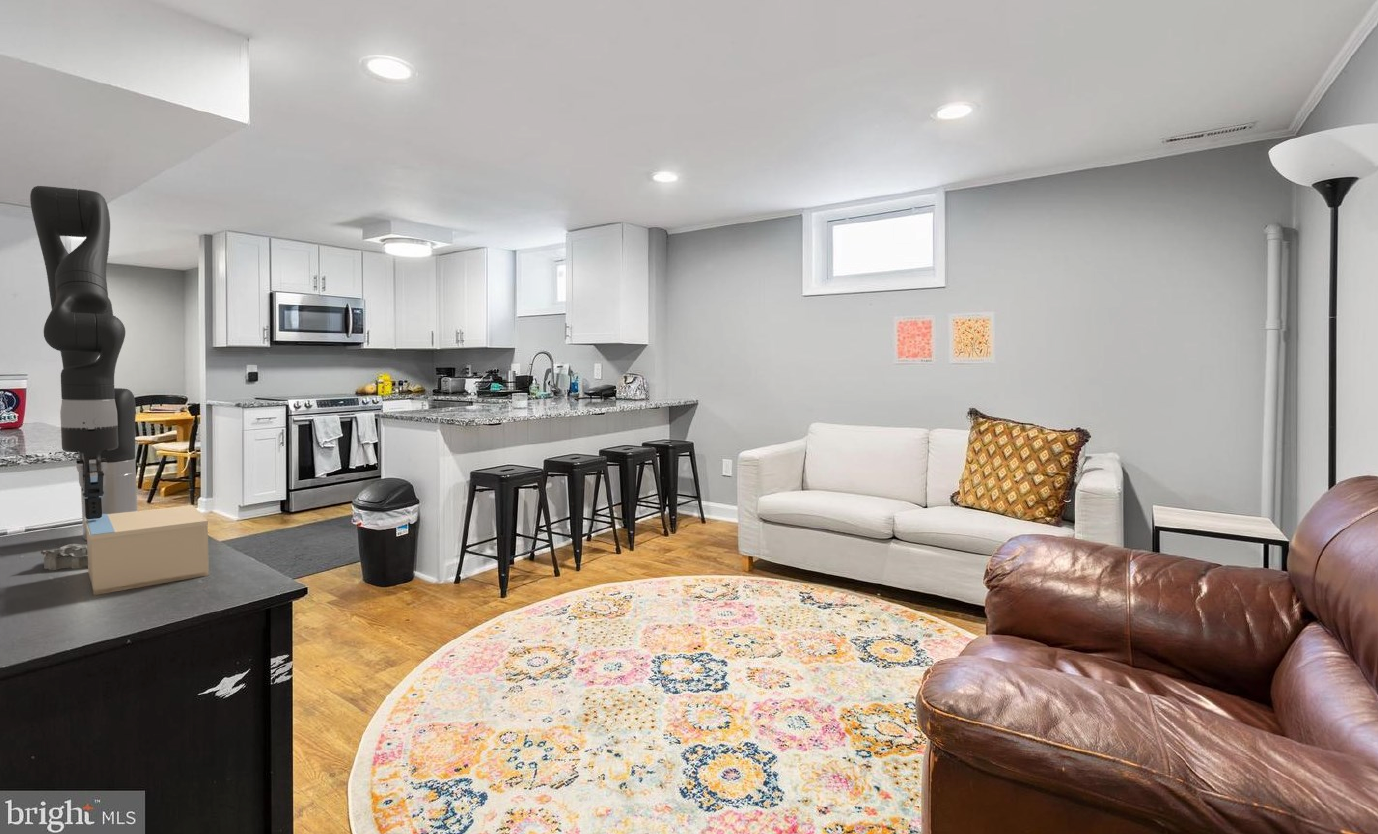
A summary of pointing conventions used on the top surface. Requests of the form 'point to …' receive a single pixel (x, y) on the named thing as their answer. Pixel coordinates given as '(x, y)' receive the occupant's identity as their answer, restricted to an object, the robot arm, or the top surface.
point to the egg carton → (66, 557)
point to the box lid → (144, 521)
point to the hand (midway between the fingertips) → (93, 518)
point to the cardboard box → (147, 558)
